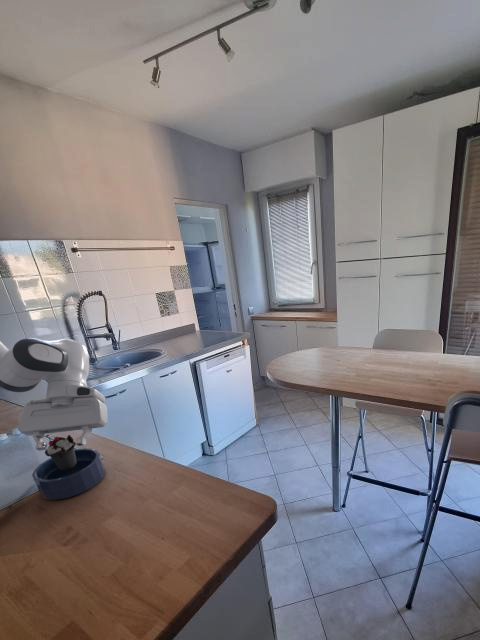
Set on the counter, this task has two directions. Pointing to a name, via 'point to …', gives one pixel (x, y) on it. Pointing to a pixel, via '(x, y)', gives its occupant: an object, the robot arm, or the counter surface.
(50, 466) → the basin
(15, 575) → the counter surface
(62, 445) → the sundae
